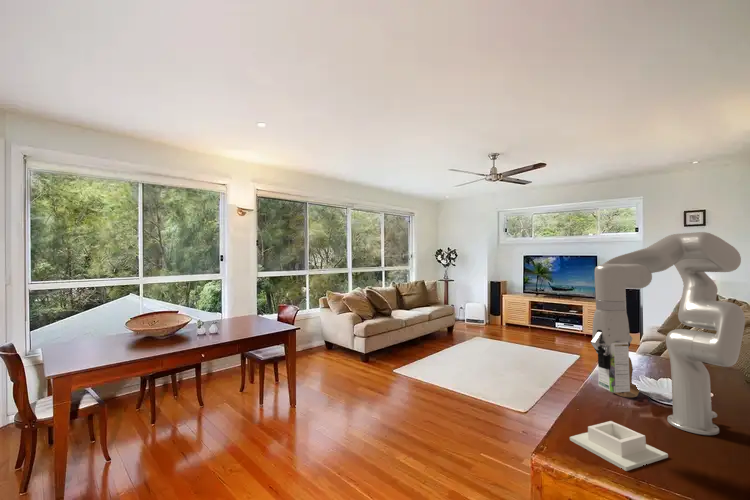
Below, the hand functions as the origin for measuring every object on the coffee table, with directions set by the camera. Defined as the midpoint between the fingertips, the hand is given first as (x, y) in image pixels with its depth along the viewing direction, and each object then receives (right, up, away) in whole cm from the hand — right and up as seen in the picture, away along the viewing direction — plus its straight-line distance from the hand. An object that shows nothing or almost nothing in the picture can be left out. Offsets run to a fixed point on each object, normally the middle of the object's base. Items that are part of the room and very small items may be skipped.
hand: (613, 366), depth 102 cm
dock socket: (0, -24, -1) cm, 24 cm away
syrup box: (0, -7, 0) cm, 7 cm away
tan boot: (+33, -25, +42) cm, 59 cm away
